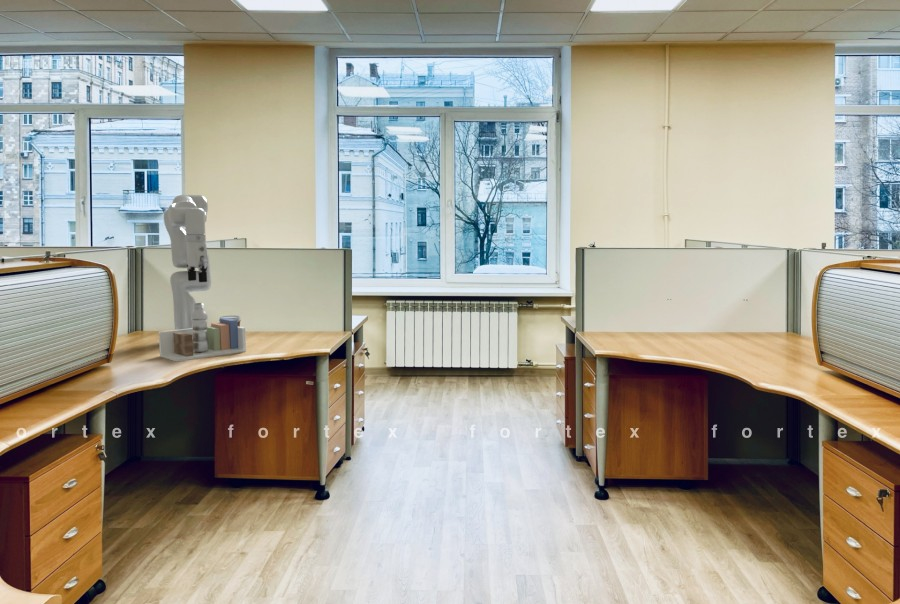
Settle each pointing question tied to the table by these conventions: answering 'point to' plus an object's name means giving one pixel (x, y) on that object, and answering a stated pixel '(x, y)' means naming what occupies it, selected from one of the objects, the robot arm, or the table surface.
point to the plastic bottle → (199, 328)
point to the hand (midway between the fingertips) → (197, 281)
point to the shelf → (178, 357)
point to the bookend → (183, 343)
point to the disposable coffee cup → (233, 318)
